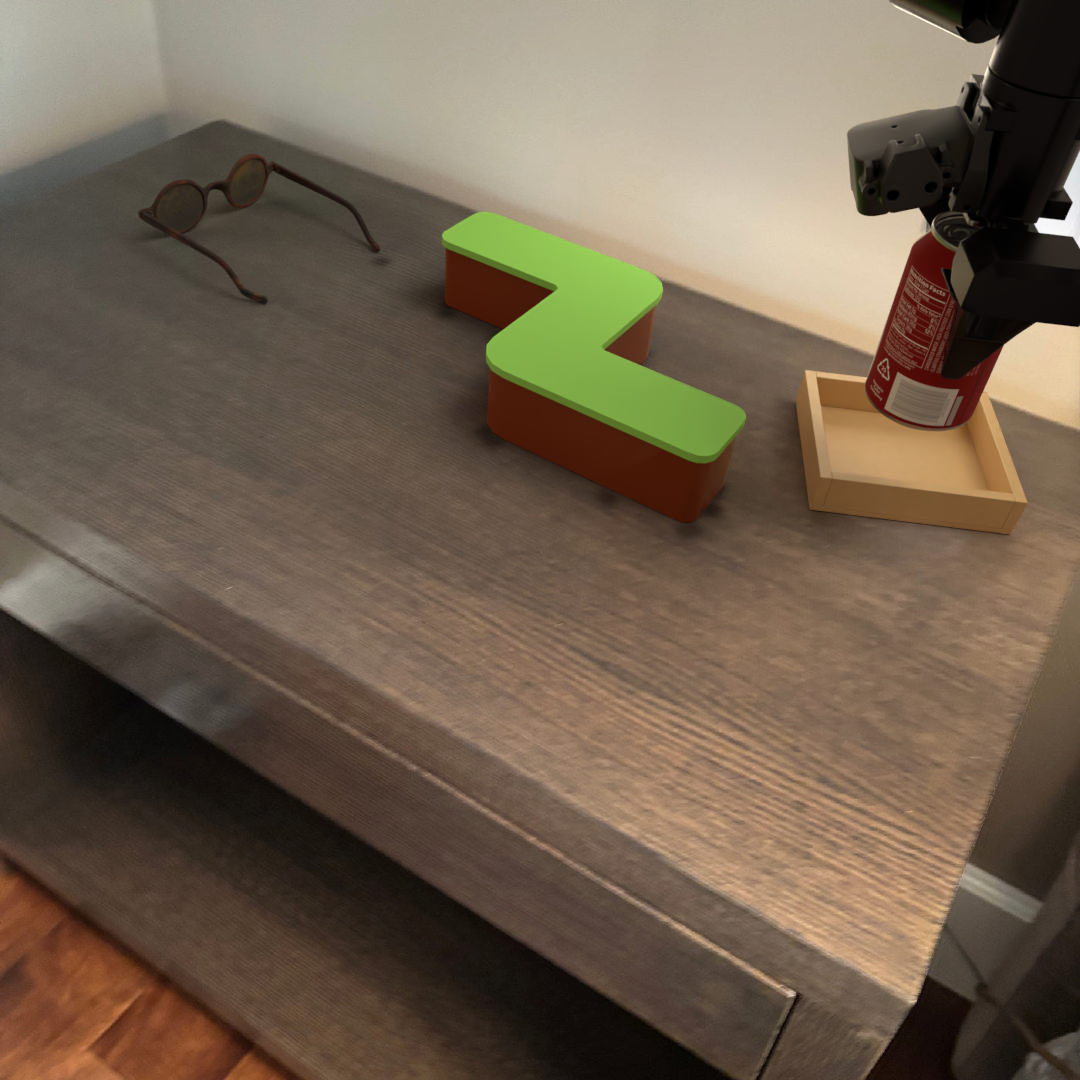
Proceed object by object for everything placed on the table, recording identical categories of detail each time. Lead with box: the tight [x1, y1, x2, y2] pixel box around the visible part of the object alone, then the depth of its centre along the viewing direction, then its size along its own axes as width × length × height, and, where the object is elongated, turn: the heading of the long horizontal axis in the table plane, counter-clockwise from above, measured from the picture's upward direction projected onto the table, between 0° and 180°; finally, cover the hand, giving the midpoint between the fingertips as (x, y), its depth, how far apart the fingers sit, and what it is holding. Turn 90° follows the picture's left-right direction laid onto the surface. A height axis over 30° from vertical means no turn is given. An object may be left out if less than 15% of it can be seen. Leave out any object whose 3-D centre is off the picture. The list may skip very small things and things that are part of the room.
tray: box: [795, 369, 1028, 535], centre depth 73 cm, size 14×13×3 cm
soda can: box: [865, 210, 1005, 431], centre depth 61 cm, size 7×7×12 cm
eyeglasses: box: [137, 153, 381, 304], centre depth 88 cm, size 15×15×5 cm
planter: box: [441, 211, 747, 523], centre depth 76 cm, size 30×18×6 cm, turn 57°
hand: (938, 343), depth 62 cm, fingers closed on soda can, 7 cm apart
